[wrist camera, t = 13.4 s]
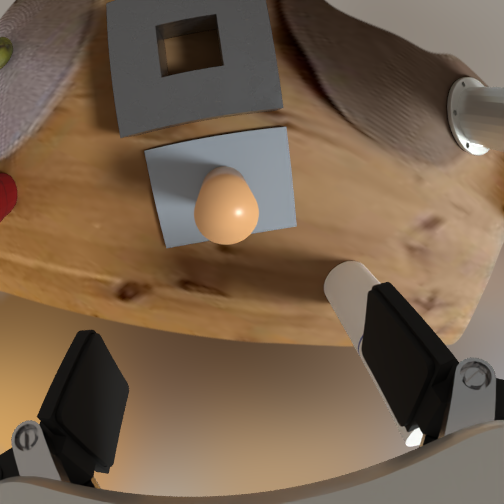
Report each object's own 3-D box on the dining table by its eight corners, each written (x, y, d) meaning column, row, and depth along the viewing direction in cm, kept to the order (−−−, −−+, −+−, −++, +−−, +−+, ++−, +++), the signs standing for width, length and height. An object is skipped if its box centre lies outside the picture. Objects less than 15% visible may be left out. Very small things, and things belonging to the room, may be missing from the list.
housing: (254, -8, 23) (260, -27, 19) (274, 110, 30) (283, 107, 25) (120, 17, 23) (106, 3, 18) (134, 136, 29) (120, 137, 25)
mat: (285, 126, 31) (286, 126, 30) (295, 224, 36) (296, 226, 35) (145, 150, 30) (144, 150, 30) (167, 246, 35) (166, 248, 35)
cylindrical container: (315, 280, 39) (399, 435, 17) (357, 251, 38) (473, 382, 16) (336, 312, 42) (411, 452, 19) (375, 285, 41) (471, 410, 18)
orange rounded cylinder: (242, 162, 31) (253, 176, 21) (249, 205, 33) (263, 238, 23) (198, 170, 31) (187, 189, 21) (206, 213, 33) (201, 249, 23)
